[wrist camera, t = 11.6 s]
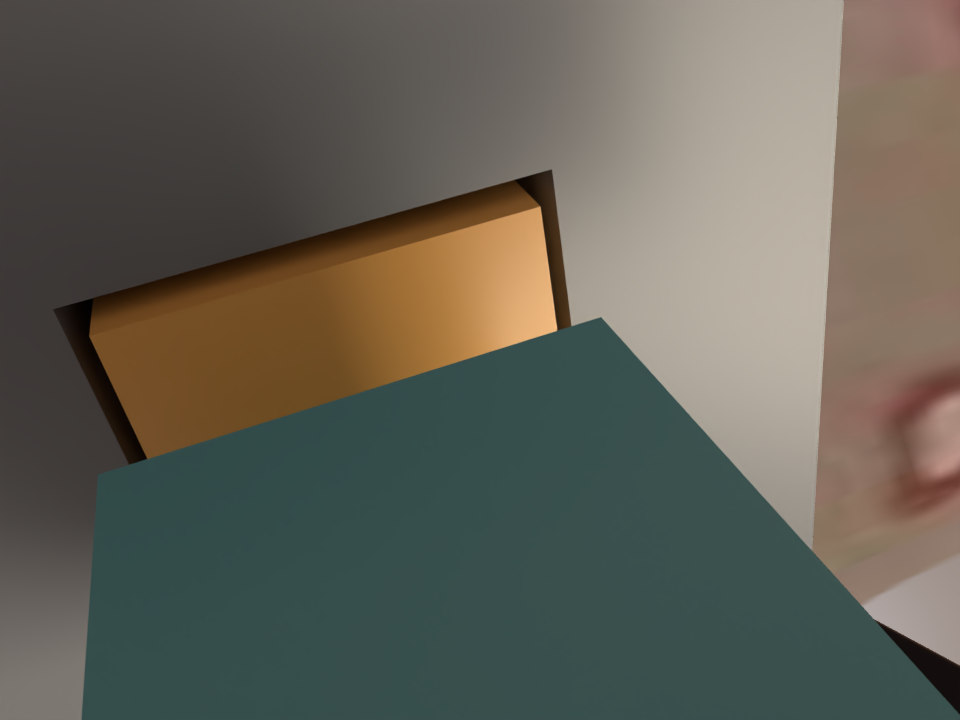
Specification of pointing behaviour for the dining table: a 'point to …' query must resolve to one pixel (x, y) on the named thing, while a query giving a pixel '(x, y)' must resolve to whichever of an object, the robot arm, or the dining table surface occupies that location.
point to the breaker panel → (394, 188)
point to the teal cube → (475, 564)
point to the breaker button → (325, 316)
